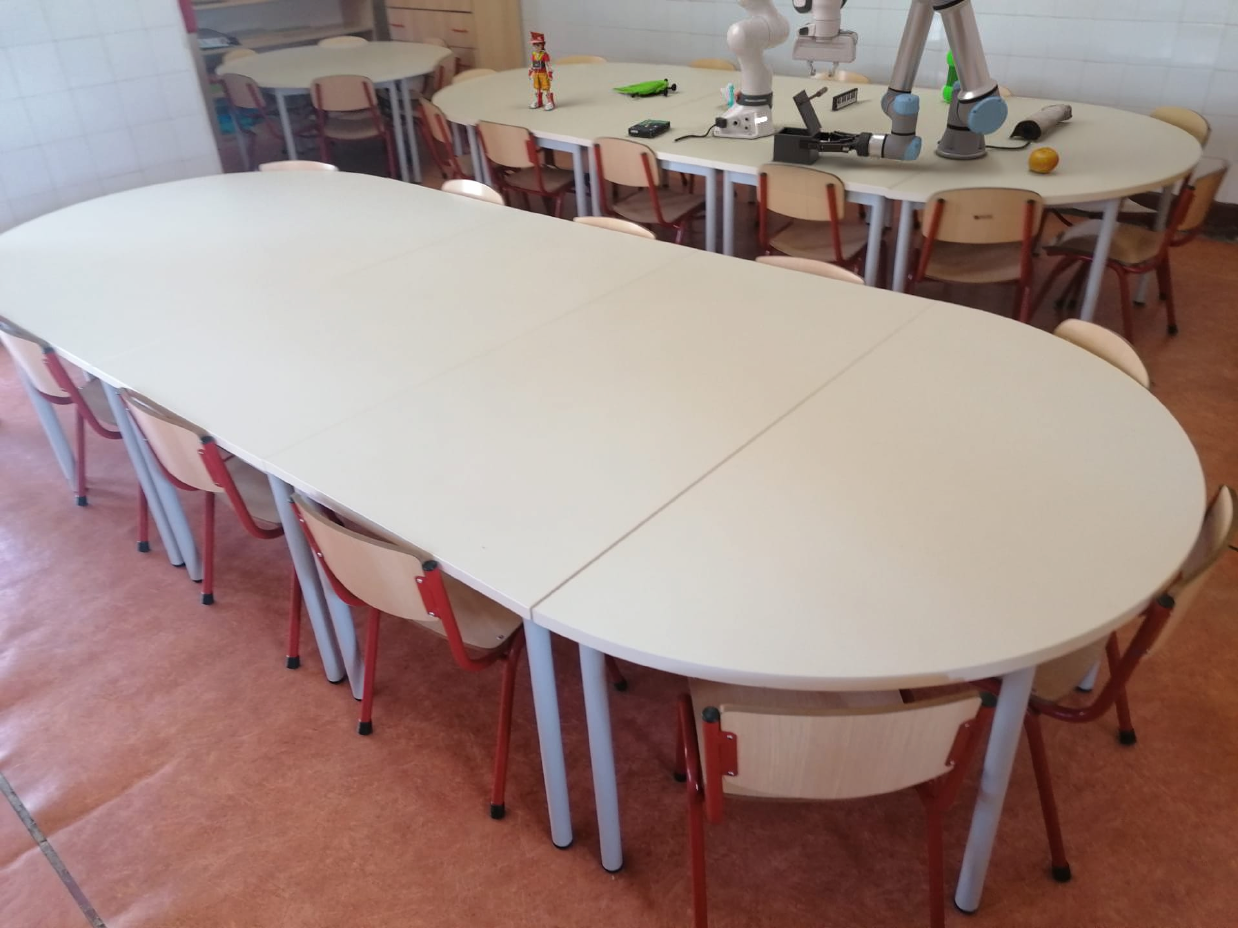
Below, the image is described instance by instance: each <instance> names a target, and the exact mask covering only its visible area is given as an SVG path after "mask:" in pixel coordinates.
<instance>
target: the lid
mask: <svg viewBox="0 0 1238 928" xmlns="http://www.w3.org/2000/svg"><path fill="white" fill-rule="evenodd" d="M828 90H829V88H828V87H827V86H823V87H822V88H820V89H819V90H818V91H816V92H815V93H814V94H812V95H810V96H809V95H808V93H807V91H806V90H805V88H804V89H802V90H801V91H799V92H798V93H796V94H795V95H793V96H792V100H793V102H794V104H795V106H796V109H797V110H798V113H799V115H800V117H801V119H802V122H803V124H804V126H805V128H807V130H808V132H809V134H810V136H812V135H813V134H815V133H816V132H817V131H818V130H819V129H820V130H821V129H822V128H823V126H822V124H821V122H820V120H819V118H818V115H817V113H816V111H815V109H814V107H813V104H812V102H811V100H813V99H815V98H820V97H822V96H823V95H825V94H826V93H827V92H828Z"/></svg>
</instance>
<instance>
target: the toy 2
mask: <svg viewBox="0 0 1238 928" xmlns="http://www.w3.org/2000/svg"><path fill="white" fill-rule="evenodd" d="M669 85H670V83H669V79H668V78H664V79H663V80H649V81H644V82H640V83H634V84H629V85H627V86H621V87H613V88H612V89H613V90H616V91H619V92H623V93H627V94H628V93H629V94H631V95H630V96H631V98H632V99H634V98H636V96H637V95H650V94H652V93H654V94H658V93H662V95H663V96H665V97H667V96H668V95H669V90H671V91H672V92H676V91H677V84H676V83H672V84H671V86H669Z"/></svg>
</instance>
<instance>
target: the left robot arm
mask: <svg viewBox="0 0 1238 928" xmlns="http://www.w3.org/2000/svg"><path fill="white" fill-rule="evenodd" d="M791 1H792V7H793V8H794V10H795V11H796V12H797V13H798V14H802V15H810V14H812V17H811V22H807V23H805V24H802V25H800V26H798V27H797V28H796V29H795V35H796V36H795V37H794V38H793V41H792V47H791V53H790V54H791V58H792V59H793V60H795V61H806V66H807V68H808V70H809V76H810V77H815V76H816V71H817V70H816V68H814V66H813V63H814V62H827V63H832V66H833V68H832V69H830V70H829V71H828V77H829V78H834V77H835V74H836V70H837V69H838V67H839V65H840V63H843V64H851V63H853V62H854V61H855V60H856V58H857V45H858V41H859V34H858V33H857V32H856V31H855V30H854V29H842V28H841V25H842V24H841V23H842V14H841V10H842V9H843V8H844V6H845V5H846V4H847V1H848V0H791ZM736 3H737V5H739V6H740V7H742V8H743V9H744V10H745V11H746V13H747V14H748V18H745V19H742V20H738V21H737V22H735V23H733V24H731V25H730V26H729V28H728V30H727V34H726V43H727V46H728V48H729V50H730V51H731V52H732V53H733V54H734V55H735V56H736V58H737V60H738V63H739V66H740V71H741V72H740V73H741V74H740V75H741V91H739V90H737V91H736V92H737V93H736V92H735V93H736V103H735V104H734V105H733V106H732V107H730V106H729V108H727V110H726V111H724V113H722V114H721V116H717V117H715V123H714V124H713V125H711V126H710V127H709V128H708V130H707V132H706V133H705V134H703V135H698V134H697V135H696V134H686V135H683V136H680V137H677V138H675V139H674V142H677V141H681V140H683V139H686V138H706V137H707V136H708V135H709V134H710V132H711V130H712V129H713V128H714V130H713V135H714V136H715V137H721V138H722V137H723V138H736V139H737V138H738V139H750V140H753V139H754V140H755V139H758V138H761V137H766V136H770V135H774V134H775V133H776V131H775V127H774V120H773V107H774V91H773V77H774V76H773V75H774V71H773V68H772V66H771V65H770V64H769V63H768V62H766V60H765V56H764V51H765V50H770V49H775V48H778V47H779V46H781V45H783V44H785V43H786V42H787V41H788V39H789V37H790V33H791V26H790V23H789V20H788V19H787V17H785V15H783V14H782V13H781V12H780V11H779V10H778V8H776V6H775V4H774V2H773V0H736Z"/></svg>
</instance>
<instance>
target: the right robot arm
mask: <svg viewBox="0 0 1238 928" xmlns="http://www.w3.org/2000/svg"><path fill="white" fill-rule="evenodd" d="M935 13H938V14H940V17H941V21H942V24H943V28H944V32H945V35H946V38H947V43H948V46H949V50H951V54H952V58H953V61H954V65H955V69H956V72H957V76H958V80H959V81H956V82H955V83H954V84H953V88H952V91H951V99H950V103H949V106H948V113H947V114H948V115H947V119H946V127H945V130H944V133H943V134H942V136H941V139H939V140H938V141H937V143H936V144H937V149H936V153H937V154H938V155H939V156H940V157H943V158H947V159H953V160H974V159H980V158H982V157H984V156H985V155H986V150H987V149H995V150H1010V151H1011V150H1013V151H1015V150H1022V149H1025V148H1027V147H1028V146H1029V145H1031V142H1032V141H1028V142H1026V144H1024V145H1021V146H1014V147H1013V146H998V145H997V146H996V145H988V144H986V139H985V136H987V135H990V134H993V133H995V132H996V131H998V130H999V129H1000V128H1001V127H1002V126H1003V125H1004V123H1005V122H1006V120H1007V118H1008V113H1009V107H1008V105H1007V103H1006V100H1004V98H1003V97H1002V96H1001V92H1000V89H999V85H998V81H997V80H996V79H994V78H991V76H990V72H989V67H988V64H987V59H986V56H985V55H986V54H985V52H984V47H983V44H982V40H981V36H980V32H979V28H978V24H977V21H976V16H975V13H974V8H973V3H972V0H911V3H910V6H909V10H908V14H907V18H906V21H905V25H904V29H903V32H902V36H901V39H900V43H899V47H898V50H897V54H896V57H895V62H894V65H893V68H892V72H891V76H890V80H889V83H888V86H887V89H886V90H887V91H886V92H885V93H884V94H883V95H882V96H881V99H880V108H881V110H882V112H883V113H884V114H885V115H886V116H887V117H888V118H889V119H890V120H891V129H890V133H884V132H883V133H882V132H874V133H873V132H871V131H869V132H868V131H861V132H860V133H851V132H846V131H845V132H844V131H839V130H833V131H830V132H828V131H821V133H820V140H818V141H817V140H805V139H800V140H799V148H804V149H815V150H818V152H819V153H843V154H850V152H852V151H855V152H856V156H857V157H861V158H868V157H870V158H875V159H876V160H877V161H878V160H881V159H887V160H896V161H901V162H907V161H908V162H914V161H916V160H918V158H919V157H920V155H921V150H922V142H923V138H922V137H921V136H918V135H917V133H916V132H917V124H918V118H919V117H918V116H919V111H920V96H918V95H916V94H914V93H912V92H913V88H914V84H915V81H916V77H917V75H918V71H919V67H920V64H921V60H922V57H923V54H924V50H925V47H926V44H927V40H928V37H929V34H930V30H931V26H932V23H933V19H934V16H935Z"/></svg>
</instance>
